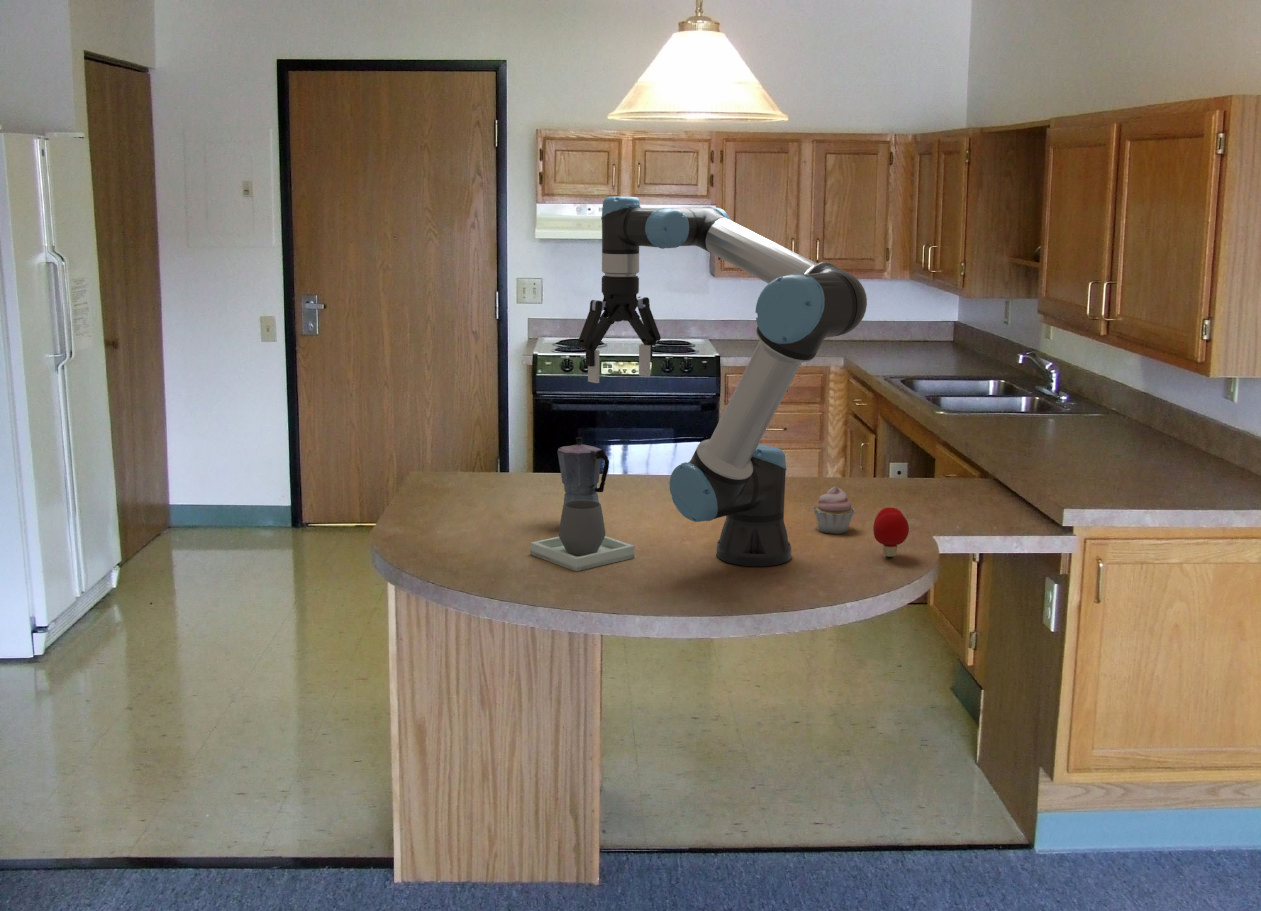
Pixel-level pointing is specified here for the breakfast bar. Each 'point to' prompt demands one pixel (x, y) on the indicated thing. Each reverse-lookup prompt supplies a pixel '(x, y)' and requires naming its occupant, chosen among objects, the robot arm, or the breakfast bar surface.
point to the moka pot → (582, 471)
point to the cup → (581, 527)
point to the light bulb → (890, 530)
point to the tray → (606, 554)
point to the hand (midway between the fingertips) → (619, 379)
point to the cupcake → (834, 512)
